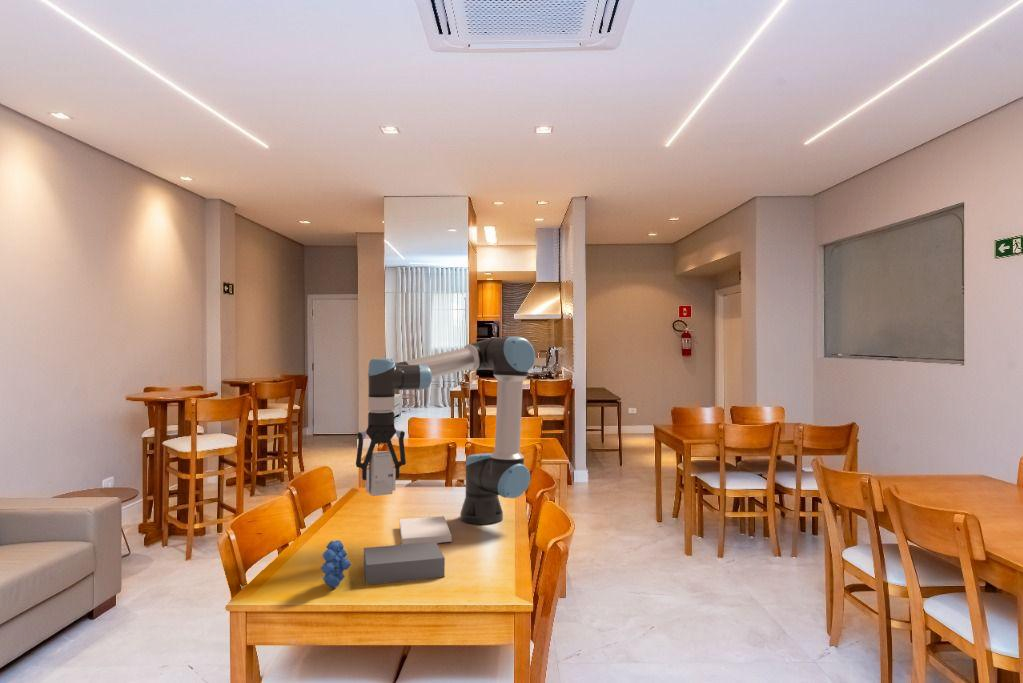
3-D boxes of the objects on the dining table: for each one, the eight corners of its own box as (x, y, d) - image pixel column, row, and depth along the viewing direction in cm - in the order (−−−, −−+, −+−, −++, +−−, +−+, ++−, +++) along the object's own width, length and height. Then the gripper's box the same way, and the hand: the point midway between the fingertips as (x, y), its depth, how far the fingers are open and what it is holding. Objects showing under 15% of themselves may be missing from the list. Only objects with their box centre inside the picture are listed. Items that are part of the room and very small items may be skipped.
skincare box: (373, 496, 173) (373, 454, 173) (367, 493, 176) (368, 452, 177) (393, 494, 176) (394, 452, 176) (387, 491, 180) (388, 450, 180)
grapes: (341, 597, 145) (342, 547, 145) (314, 596, 146) (315, 546, 146) (359, 579, 157) (359, 533, 157) (333, 578, 157) (334, 532, 158)
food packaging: (451, 546, 188) (444, 526, 207) (451, 535, 187) (444, 516, 207) (402, 549, 184) (399, 529, 204) (402, 538, 184) (399, 519, 204)
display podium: (435, 559, 172) (435, 541, 173) (444, 577, 159) (444, 557, 159) (363, 566, 167) (363, 547, 167) (366, 584, 153) (366, 564, 153)
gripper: (413, 409, 183) (412, 485, 183) (346, 410, 177) (345, 489, 177) (416, 411, 176) (416, 491, 176) (346, 413, 170) (346, 495, 170)
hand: (380, 490), depth 176 cm, fingers closed on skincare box, 7 cm apart
